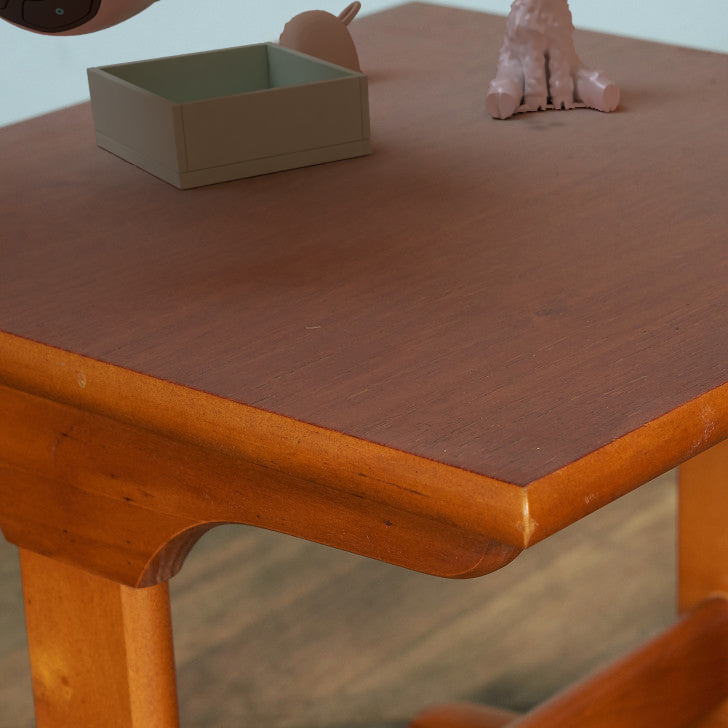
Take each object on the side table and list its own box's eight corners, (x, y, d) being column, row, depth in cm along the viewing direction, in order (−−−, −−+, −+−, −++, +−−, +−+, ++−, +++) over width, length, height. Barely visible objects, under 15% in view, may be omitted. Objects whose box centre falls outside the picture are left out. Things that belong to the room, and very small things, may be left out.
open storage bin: (180, 190, 100) (171, 106, 97) (96, 145, 109) (85, 68, 107) (372, 154, 106) (367, 74, 104) (276, 114, 116) (270, 41, 114)
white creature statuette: (488, 121, 113) (484, -64, 108) (461, 93, 120) (456, -81, 115) (622, 111, 115) (625, -71, 109) (588, 84, 122) (589, -88, 117)
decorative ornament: (263, 87, 123) (256, 13, 121) (352, 69, 128) (347, -3, 126) (296, 96, 121) (290, 20, 118) (385, 77, 126) (381, 4, 123)
